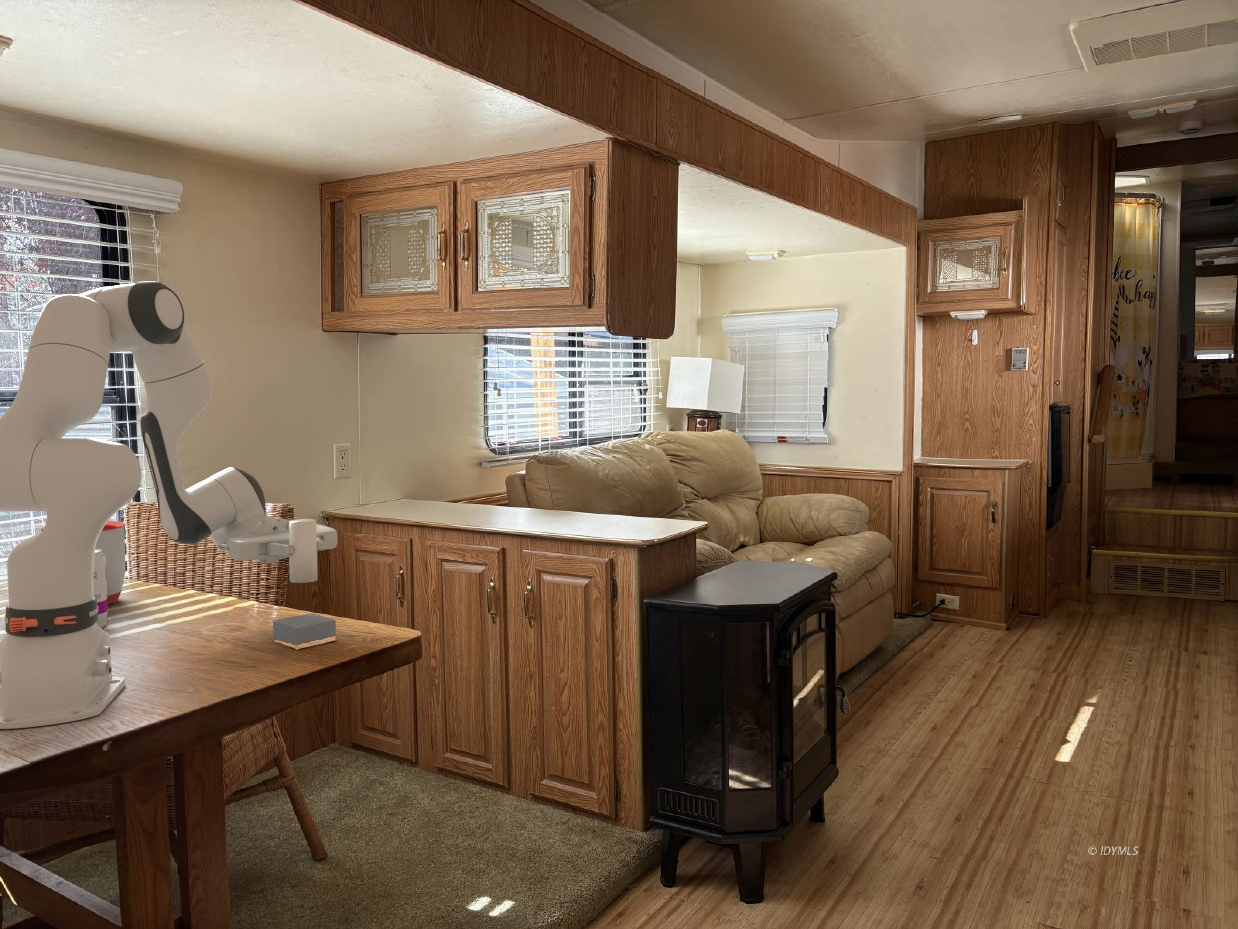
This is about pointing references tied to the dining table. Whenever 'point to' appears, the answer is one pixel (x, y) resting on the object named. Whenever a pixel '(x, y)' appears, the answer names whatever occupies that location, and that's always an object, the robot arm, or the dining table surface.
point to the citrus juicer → (113, 557)
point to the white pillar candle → (303, 550)
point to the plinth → (303, 628)
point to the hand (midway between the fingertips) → (305, 548)
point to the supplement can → (100, 587)
